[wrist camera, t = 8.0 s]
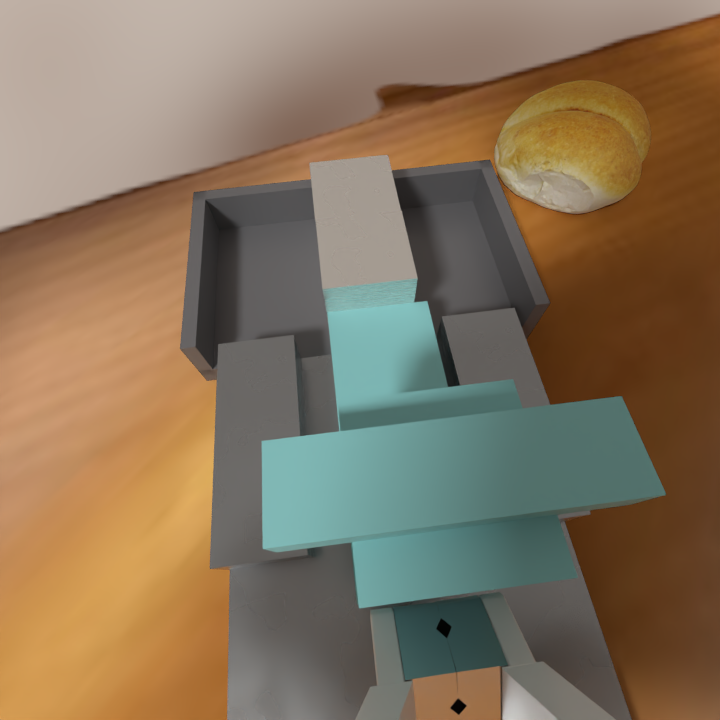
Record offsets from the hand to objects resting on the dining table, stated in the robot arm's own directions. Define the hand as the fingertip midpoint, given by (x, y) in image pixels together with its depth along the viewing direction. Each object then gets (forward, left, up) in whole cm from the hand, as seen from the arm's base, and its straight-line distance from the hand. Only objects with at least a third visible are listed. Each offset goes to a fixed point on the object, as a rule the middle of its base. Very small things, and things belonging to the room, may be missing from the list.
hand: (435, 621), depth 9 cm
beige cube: (0, +12, -5) cm, 13 cm away
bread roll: (+13, +22, -6) cm, 26 cm away
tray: (0, +14, -6) cm, 16 cm away
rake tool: (0, +5, -5) cm, 7 cm away
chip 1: (0, +16, -5) cm, 16 cm away
